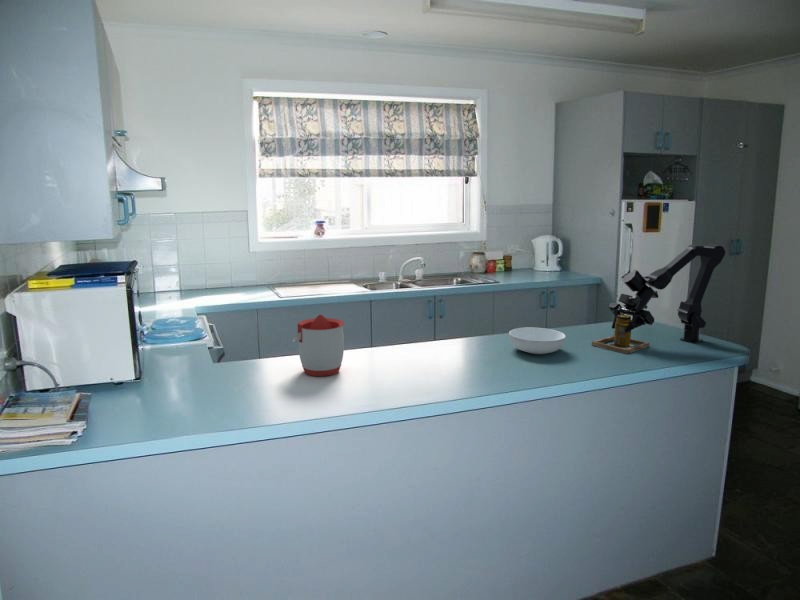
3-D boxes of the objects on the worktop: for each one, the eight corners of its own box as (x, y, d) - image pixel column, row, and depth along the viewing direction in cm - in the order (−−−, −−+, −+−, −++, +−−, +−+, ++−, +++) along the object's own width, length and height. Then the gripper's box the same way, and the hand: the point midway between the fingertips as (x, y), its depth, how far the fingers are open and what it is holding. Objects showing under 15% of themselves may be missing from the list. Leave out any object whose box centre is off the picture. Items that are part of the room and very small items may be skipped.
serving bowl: (570, 359, 222) (572, 341, 220) (513, 358, 222) (513, 340, 221) (557, 343, 242) (558, 326, 241) (504, 343, 242) (505, 326, 241)
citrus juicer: (289, 368, 211) (287, 311, 207) (338, 362, 217) (337, 307, 213) (298, 382, 197) (296, 321, 193) (350, 376, 203) (349, 317, 199)
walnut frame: (614, 338, 249) (615, 335, 249) (649, 346, 238) (649, 342, 237) (591, 345, 239) (591, 341, 239) (626, 353, 228) (626, 350, 228)
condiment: (634, 345, 239) (636, 315, 236) (624, 350, 233) (626, 319, 231) (616, 342, 244) (618, 312, 242) (606, 346, 238) (608, 316, 236)
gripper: (613, 282, 244) (591, 312, 241) (651, 290, 228) (628, 322, 225) (625, 300, 249) (604, 329, 246) (664, 308, 233) (641, 340, 230)
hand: (618, 329), depth 237 cm, fingers closed on condiment, 6 cm apart
